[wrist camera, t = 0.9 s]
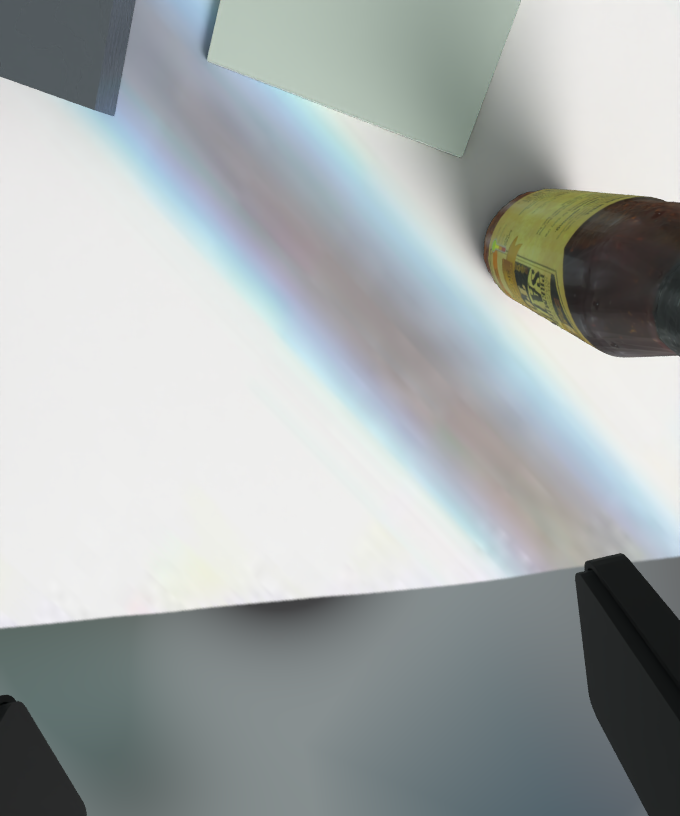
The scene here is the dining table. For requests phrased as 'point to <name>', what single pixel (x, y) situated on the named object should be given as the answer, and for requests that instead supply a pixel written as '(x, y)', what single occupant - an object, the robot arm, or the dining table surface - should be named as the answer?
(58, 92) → the plate
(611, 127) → the dining table surface
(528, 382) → the dining table surface
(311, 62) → the sage mat
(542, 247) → the sauce bottle
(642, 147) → the dining table surface
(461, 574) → the dining table surface
